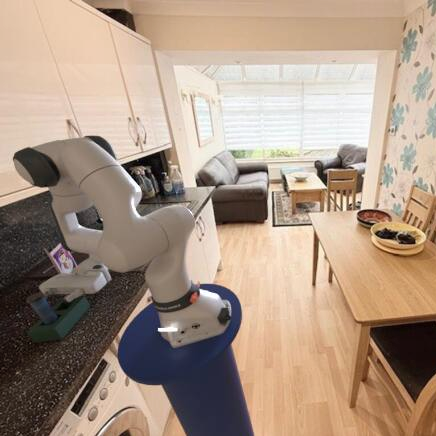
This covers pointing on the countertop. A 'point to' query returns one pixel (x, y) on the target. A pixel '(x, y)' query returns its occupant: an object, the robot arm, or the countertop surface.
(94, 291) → the robot arm
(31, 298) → the handle
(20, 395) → the countertop surface
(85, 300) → the holder
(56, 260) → the greeting card
